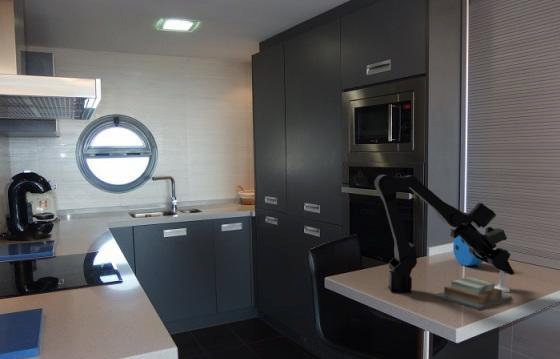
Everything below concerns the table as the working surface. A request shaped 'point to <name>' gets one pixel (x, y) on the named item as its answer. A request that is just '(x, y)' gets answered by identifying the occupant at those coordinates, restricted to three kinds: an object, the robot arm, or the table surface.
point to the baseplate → (472, 304)
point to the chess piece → (502, 283)
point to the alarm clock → (464, 253)
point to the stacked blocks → (473, 290)
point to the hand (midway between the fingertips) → (506, 270)
